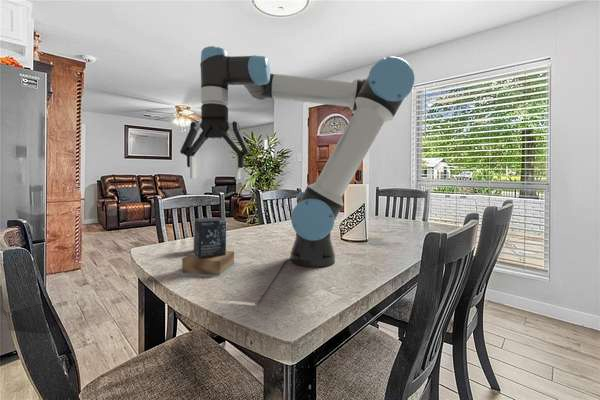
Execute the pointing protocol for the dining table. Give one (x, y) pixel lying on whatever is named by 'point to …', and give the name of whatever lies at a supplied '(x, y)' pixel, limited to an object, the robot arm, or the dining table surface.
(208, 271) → the base slab
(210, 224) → the box
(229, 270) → the board
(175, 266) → the dining table surface
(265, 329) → the dining table surface
